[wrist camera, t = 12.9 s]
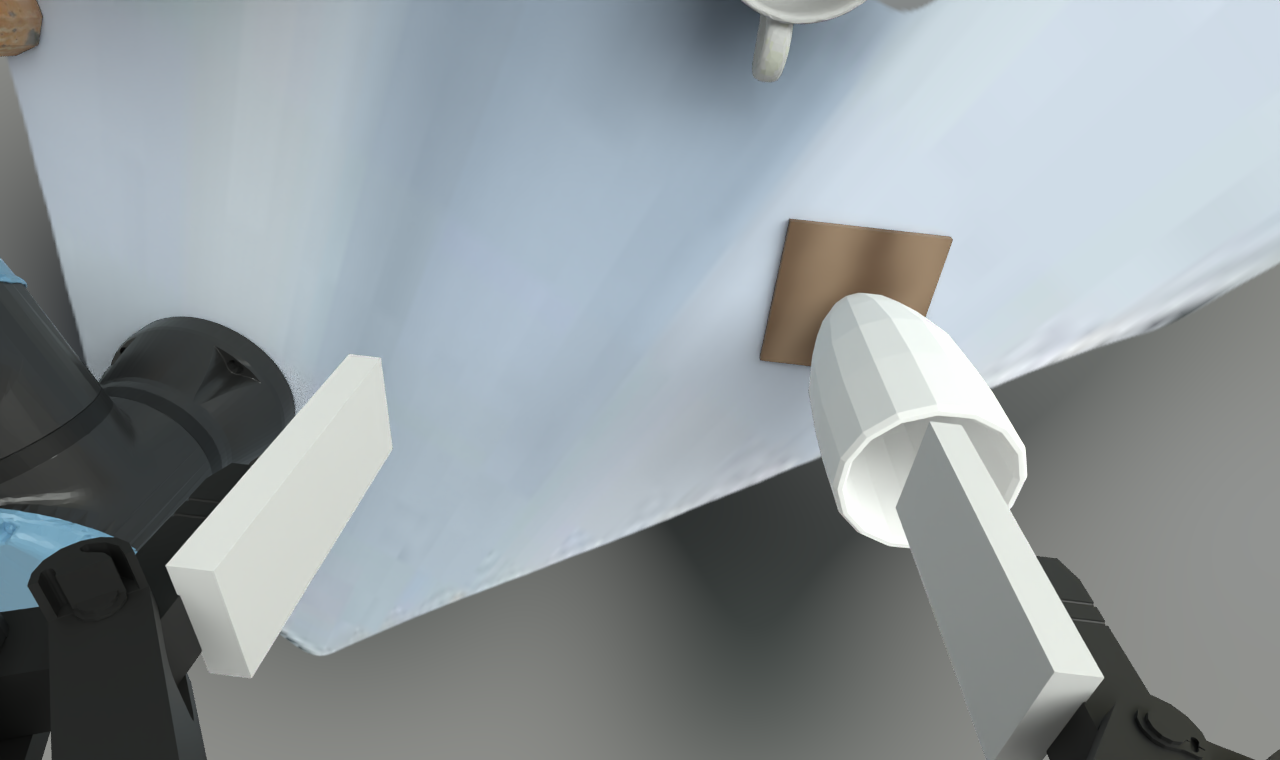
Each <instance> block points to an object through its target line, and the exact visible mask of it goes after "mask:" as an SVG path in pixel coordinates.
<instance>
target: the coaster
mask: <svg viewBox="0 0 1280 760" xmlns="http://www.w3.org/2000/svg"><path fill="white" fill-rule="evenodd" d="M952 241H953V239H952V238H951V237H947V236H939V235H930V234H921V233H912V232H903V231H894V230H885V229H877V228H868V227H859V226H850V225H841V224H832V223H823V222H815V221H806V220H797V219H790V220H789V225H788V229H787V234H786V239H785V243H784V248H783V252H782V257H781V262H780V266H779V271H778V276H777V280H776V285H775V289H774V294H773V299H772V303H771V308H770V312H769V317H768V322H767V326H766V331H765V336H764V340H763V345H762V349H761V354H760V360H762V361H771V362H779V363H788V364H797V365H805V366H811V362H812V355H813V351H814V346H815V342H816V338H817V335H818V332H819V329H820V327H821V324H822V321H823V320H824V318H825V317H826V316H827V314H828V313H829V311H830V310H831V309H832V307H833V306H834V305H835V303H836V302H838V301H839V300H841V299H842V298H844V297H845V296H848V295H852V294H856V293H868V294H877V295H883V296H885V297H888V298H890V299H893V300H895V301H898V302H900V303H901V304H903V305H905V306H907V307H909V308H911V309H913V310H915V311H917V312H918V313H920V314H921V315H923V316H924V317H926V314H927V311H928V308H929V305H930V303H931V300H932V297H933V294H934V291H935V288H936V286H937V283H938V280H939V277H940V274H941V272H942V269H943V266H944V263H945V260H946V257H947V255H948V252H949V249H950V246H951V243H952Z"/></svg>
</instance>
